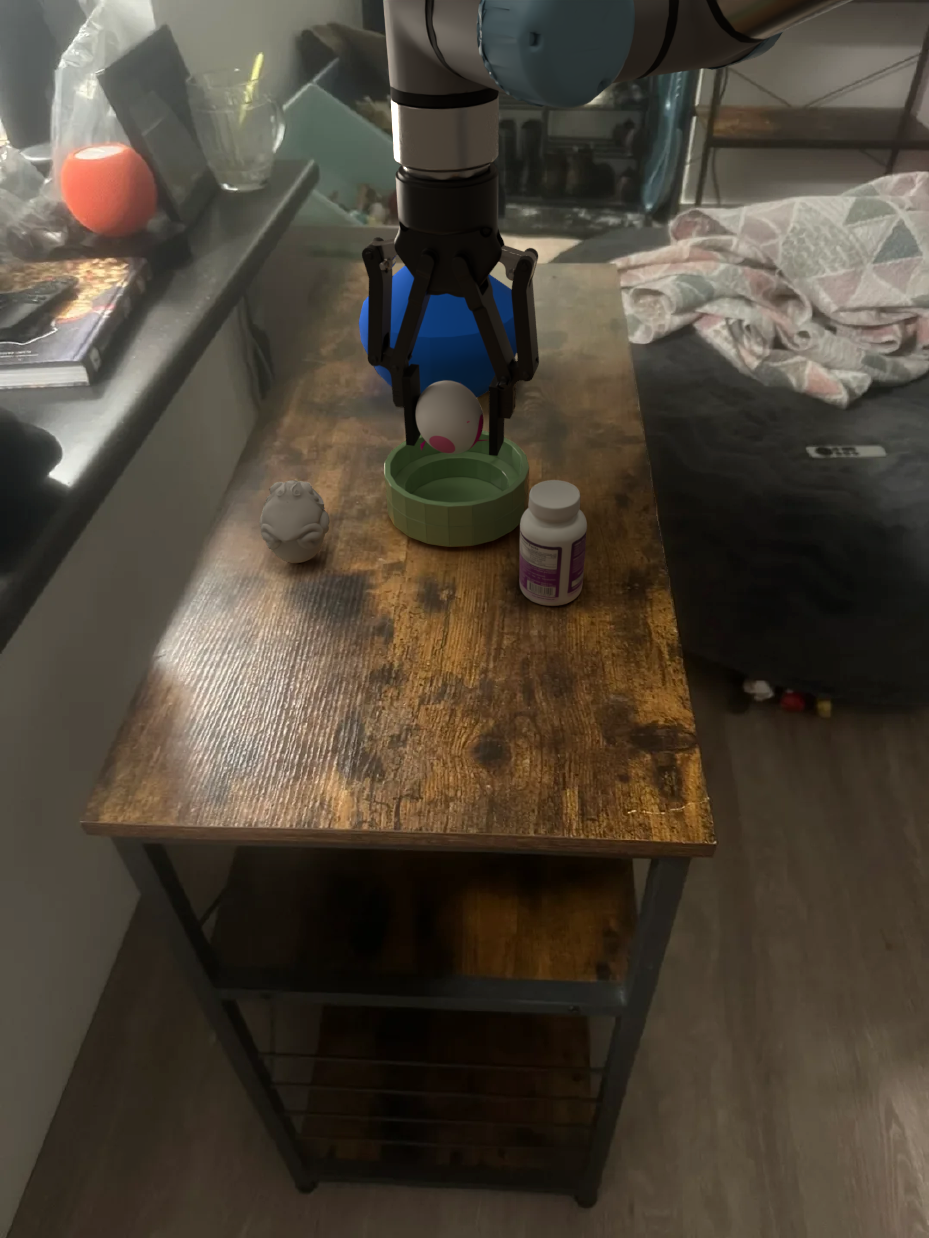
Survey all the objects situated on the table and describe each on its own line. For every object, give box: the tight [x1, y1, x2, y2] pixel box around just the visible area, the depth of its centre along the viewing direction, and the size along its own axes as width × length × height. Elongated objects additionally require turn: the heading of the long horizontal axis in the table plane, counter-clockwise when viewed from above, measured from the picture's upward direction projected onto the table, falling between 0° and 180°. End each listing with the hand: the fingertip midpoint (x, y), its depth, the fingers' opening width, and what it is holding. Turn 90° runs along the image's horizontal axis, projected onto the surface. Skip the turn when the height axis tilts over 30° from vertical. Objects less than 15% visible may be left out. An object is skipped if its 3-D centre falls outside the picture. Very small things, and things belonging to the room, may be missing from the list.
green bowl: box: [383, 429, 530, 548], centre depth 82 cm, size 13×13×5 cm
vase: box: [358, 265, 517, 399], centre depth 96 cm, size 18×18×19 cm
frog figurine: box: [259, 479, 331, 564], centre depth 77 cm, size 6×7×7 cm
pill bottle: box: [518, 479, 588, 607], centre depth 72 cm, size 5×5×10 cm
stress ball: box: [415, 381, 487, 454], centre depth 78 cm, size 8×8×7 cm
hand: (455, 442), depth 79 cm, fingers closed on stress ball, 7 cm apart
